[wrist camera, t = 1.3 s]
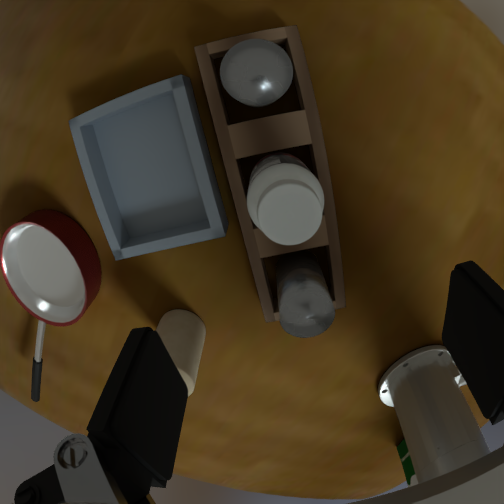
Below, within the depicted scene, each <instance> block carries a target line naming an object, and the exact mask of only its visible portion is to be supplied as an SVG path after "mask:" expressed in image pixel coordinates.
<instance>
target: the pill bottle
mask: <svg viewBox="0 0 504 504" xmlns="http://www.w3.org/2000/svg"><path fill="white" fill-rule="evenodd" d="M247 208H248V212H249V215H250V217H251V219H252V221H253V222H254V224H255V225H256V226H257V227H258V228H259V229H260V230H261V231H263V233H264V234H265V235H266V236H267V237H268V238H269V239H270V240H272V241H274V242H276V243H278V244H282V245H296V244H300V243H303V242H305V241H307V240H308V239H310V238H311V237H312V236H313V235H314V234H315V233H316V231H317V230H318V228H319V226H320V224H321V220H322V212H323V209H324V193H323V190H322V187H321V185H320V183H319V181H318V179H317V178H316V177H315V176H314V175H313V174H312V172H311V171H310V170H309V169H308V168H307V166H306V165H305V164H304V163H303V162H302V161H301V160H300V159H299V158H297V157H295V156H293V155H291V154H288V153H282V152H278V153H272V154H269V155H267V156H265V157H263V158H262V159H261V160H260V161H259V162H258V163H257V164H256V165H255V167H254V168H253V170H252V173H251V176H250V182H249V188H248V194H247Z"/></svg>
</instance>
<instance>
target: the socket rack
mask: <svg viewBox="0 0 504 504" xmlns="http://www.w3.org/2000/svg"><path fill="white" fill-rule="evenodd" d="M249 39H264V40H268V41H271V42H273V43H275V44H277V45H283V44H285V47H286V51H287V54H288V56H289V58H290V60H291V63H292V67H293V78H294V82H295V86H296V91H297V95H298V99H299V104H300V108H301V110H298V111H292V112H287V113H281V114H276V115H271V116H266V117H262V118H257V119H252V120H248V121H244V122H239V123H235V124H231V125H230V121H229V117H228V114H227V110H226V106H225V102H224V98H223V94H222V90H221V86H220V82H219V78H218V74H217V70H216V67H215V63H214V59H217V58H220V57H224V56H225V54H226V53H227V52H228V51H229V50H230V49H231V48H232V47H233V46H234V45H236V44H238V43H240V42H242V41H245V40H249ZM194 49H195V53H196V57H197V61H198V65H199V68H200V72H201V76H202V80H203V84H204V88H205V92H206V96H207V100H208V103H209V107H210V111H211V115H212V119H213V123H214V127H215V131H216V134H217V138H218V142H219V146H220V150H221V154H222V158H223V161H224V165H225V169H226V173H227V177H228V181H229V184H230V188H231V192H232V196H233V200H234V203H235V207H236V211H237V215H238V219H239V223H240V226H241V230H242V234H243V238H244V242H245V245H246V249H247V253H248V257H249V261H250V264H251V268H252V272H253V276H254V279H255V283H256V287H257V291H258V295H259V298H260V302H261V306H262V310H263V313H264V317H265V321H266V322H272V321H278V320H280V318H279V305H278V298H276V299H273V297H272V292H271V288H270V284H269V280H268V276H267V272H266V267H265V263H264V259H263V258H264V257H269V256H274V255H279V254H284V253H289V252H294V251H300V250H305V249H310V248H315V247H320V246H326V253H327V261H328V268H329V276H330V285H331V288H328V291H329V294H330V297H331V300H332V303H333V306H334V309H339V308H344V307H346V301H345V289H344V278H343V268H342V259H341V250H340V241H339V233H338V225H337V218H336V211H335V204H334V197H333V190H332V184H331V178H330V172H329V166H328V160H327V155H326V149H325V144H324V138H323V133H322V128H321V123H320V118H319V114H318V109H317V104H316V100H315V95H314V91H313V86H312V82H311V78H310V74H309V70H308V66H307V62H306V58H305V54H304V50H303V46H302V43H301V39H300V35H299V32H298V28H297V25H294V26H287V27H280V28H274V29H268V30H263V31H258V32H253V33H248V34H243V35H238V36H234V37H230V38H226V39H222V40H218V41H214V42H210V43H207V44H203V45H199V46H196V47H194ZM307 144H308V146H309V151H310V156H311V161H312V167H313V172H314V176H315V177H316V178H317V179H318V181H319V183H320V185H321V187H322V190H323V193H324V209H323V212H322V220H321V224H320V226H319V228H318V230H317V231H316V233H315V234H314V235H313V236H312V237H311V238H310V239H308V240H307V241H305V242H303V243H300V244H296V245H282V244H278V243H276V242H274V241H272V240H270V239H269V238H268V237H267V236H266V235H265V234H264V233H263V231H261V230H260V229H259V228H258V227H257V226H256V225H255V224H254V222H253V221H252V219H251V217H250V215H249V212H248V208H247V190H246V185H245V181H244V177H243V173H242V169H241V165H240V161H239V158H243V157H247V156H252V155H256V154H261V153H266V152H271V151H275V150H280V149H285V148H291V147H296V146H301V145H307Z"/></svg>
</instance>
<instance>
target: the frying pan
mask: <svg viewBox="0 0 504 504" xmlns="http://www.w3.org/2000/svg"><path fill="white" fill-rule="evenodd" d="M0 266H1V270H2V273H3V276H4V279H5V281H6V284H7V286H8V287H9V289H10V291H11V293H12V294H13V296H14V297H15V298H16V300H17V301H18V302H19V303H20V305H21V306H22V307H23V308H24V309H25V310H26V311H28V312H29V313H30V314H31V315H32V316H34V317H36V318H37V319H39V323H38V331H37V339H36V349H35V357H34V358H33V368H32V389H31V399H32V400H33V401H35V402H37V401H39V399H40V384H41V372H42V361H43V359H42V358H41V357H42V348H43V340H44V333H45V326H46V323H47V324H50V325H54V326H68V325H72V324H73V323H75V322H77V321H78V320H79V319H80V318H81V317H82V316H83V314H84V313H85V311H86V310H87V309H88V307H89V306H90V305H91V303H92V302H93V300H94V299H95V297H96V296H97V294H98V292H99V289H100V285H101V274H102V272H101V265H100V260H99V257H98V254H97V251H96V249H95V247H94V245H93V243H92V241H91V240H90V238H89V237H88V235H87V234H86V232H85V231H84V230H83V229H82V228H81V227H80V226H79V225H78V224H77V223H76V222H75V221H74V220H72V219H71V218H70V217H68V216H66V215H65V214H63V213H61V212H58V211H54V210H45V209H43V210H38V211H35V212H33V213H31V214H30V215H28V216H26V217H25V218H23V219H21V220H20V221H18V222H17V223H15V224H13V225H12V226H10V227H9V228H8V229H7V230H6V232H5V233H4V235H3V237H2V239H1V243H0Z"/></svg>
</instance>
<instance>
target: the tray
mask: <svg viewBox="0 0 504 504" xmlns="http://www.w3.org/2000/svg"><path fill="white" fill-rule="evenodd" d="M69 125H70V129H71V132H72V136H73V140H74V143H75V147H76V150H77V154H78V157H79V160H80V164H81V167H82V170H83V173H84V176H85V179H86V183H87V186H88V189H89V191H90V194H91V197H92V200H93V203H94V206H95V209H96V211H97V214H98V217H99V219H100V222H101V225H102V227H103V230H104V232H105V235H106V238H107V240H108V243H109V245H110V248H111V250H112V252H113V255H114V257H115V260H120V259H125V258H129V257H133V256H138V255H142V254H147V253H151V252H156V251H160V250H165V249H169V248H174V247H178V246H183V245H187V244H192V243H197V242H201V241H206V240H211V239H215V238H220V237H225V236H226V232H227V228H228V220H227V216H226V213H225V209H224V205H223V202H222V198H221V194H220V191H219V187H218V183H217V180H216V176H215V172H214V169H213V165H212V161H211V157H210V154H209V150H208V146H207V142H206V139H205V135H204V131H203V127H202V123H201V120H200V116H199V112H198V108H197V104H196V100H195V97H194V93H193V89H192V85H191V81H190V78H189V77H186V76H184V75H182V74H181V75H178V76H175V77H172V78H169V79H166V80H163V81H160V82H157V83H154V84H152V85H149V86H146V87H144V88H141V89H138V90H136V91H133V92H131V93H128V94H126V95H123V96H121V97H119V98H116V99H114V100H111V101H109V102H107V103H105V104H102V105H100V106H98V107H96V108H94V109H92V110H89V111H87V112H85V113H83V114H81V115H79V116H77V117H75V118H73V119H71V120H69Z"/></svg>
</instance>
